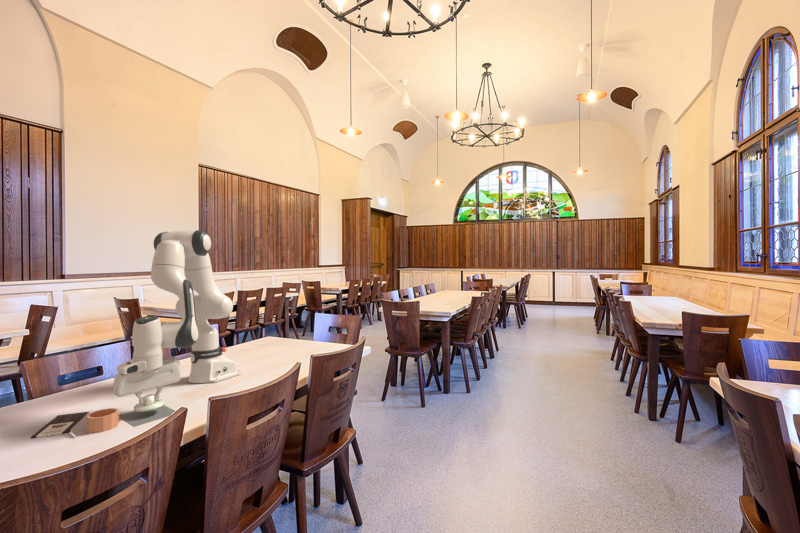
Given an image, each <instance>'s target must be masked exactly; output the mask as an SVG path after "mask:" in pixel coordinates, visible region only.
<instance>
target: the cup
mask: <svg viewBox="0 0 800 533" xmlns="http://www.w3.org/2000/svg"><path fill="white" fill-rule="evenodd" d="M119 410H120V409H118V408H115V407H114V408H111V407H110V408H109V407H108V408H105V409H104V408H103V409H99V410H95V411H93V412H91V413H90V412H89V413H87V414H86V432H87V433H88V434H89V433H91V434H96V433H103V432H107V431H110V430H113V429H115V428H116V427H118V426H119V425H120V418H119V415H120V411H119Z"/></svg>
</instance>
